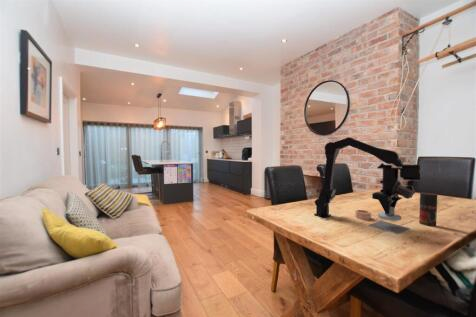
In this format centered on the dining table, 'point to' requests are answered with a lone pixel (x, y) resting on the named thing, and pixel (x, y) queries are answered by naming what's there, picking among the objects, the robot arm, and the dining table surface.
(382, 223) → the mat
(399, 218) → the lid
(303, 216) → the dining table surface
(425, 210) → the deodorant
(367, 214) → the pink block
